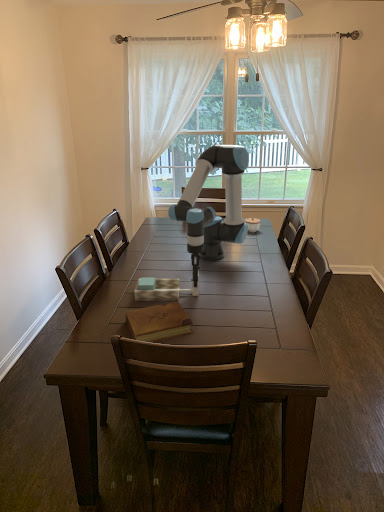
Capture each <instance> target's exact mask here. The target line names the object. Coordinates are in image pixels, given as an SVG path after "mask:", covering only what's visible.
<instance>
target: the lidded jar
mask: <svg viewBox="0 0 384 512" xmlns="http://www.w3.org/2000/svg"><path fill="white" fill-rule="evenodd" d="M244 224H247V225H248V233H255V232H257V231H259V228H260V227H261V219H260V218H255V217H249V218H245V219H244Z"/></svg>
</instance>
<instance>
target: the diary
mask: <svg viewBox="0 0 384 512" xmlns="http://www.w3.org/2000/svg"><path fill="white" fill-rule="evenodd" d="M124 315H125V322H126V325H127V328H128V329H129V331H130V334H131V336H132V339H133V340H134V339H135V340H140V341H148V342H153V343H156V342H155V341H157V342H160V341H164V340H169V339H173V338H178V337H181V336H182V335H183V336H186V334H187V335H190V334H189V333H191V334H194V332H193V331H192V329H191V327H192V325H193V324H194V322H193V320H192V319H191V318H190V317H189V314H188V313H187V312H186V310H185V309H184V308H183V306H182V305H181V304H180V302H179V300H178V301H171V302H166V303H161V304H157V305H152V306H147V307H142V308H138V309H137V308H136V309H132V310H128V311H125V313H124Z"/></svg>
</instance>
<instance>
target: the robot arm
mask: <svg viewBox="0 0 384 512" xmlns="http://www.w3.org/2000/svg"><path fill="white" fill-rule="evenodd" d="M249 158H250V157H249V152H248V150H247V148H246V147H245V146H243V145H237V144H235V145H234V144H213V145H211V146H209V147H207V148H206V149H205V150H203V152H201V154H200V155H199V156H198V158H197V160H196V162H195V168H194V170H193V172H192V174H191V176H190V178H189V180H188V182H187V184H186V186H185V188H184V189H183V192H182V193H181V196H180V197H179V199H178V201H177V203H175V204H171V205H170V206H169V208H168V211H167V216H168V217H169V219H170V220H171V221H176V222H183V223H186V236H185V239H186V242H187V244H186V251H187V252H188V254H190V255H191V256H190V259H191V260H190V261H191V266H192V272H193V279H192V278H191V279H190V281H191V283H192V284H191V285H193V293H198V272H199V270H200V269H201V268H200V260H201V259H203V260H206V261H217V260H222V258H224V257H225V249H224V247H223V244H222V242H225V243H230V244H237V245H238V244H239V245H241V244H243V243H244V242H245V240H246V238H247V236H248V233H249V231H248V225H247V224H245V219H244V217H242V215H243V213H242V211H243V210H242V209H243V208H242V205H243V203H242V200H243V199H242V197H243V195H242V192H243V191H242V189H243V188H242V187H243V186H242V185H243V184H242V181H243V179H242V177H243V174H245V170H248V167H249V161H250V160H249ZM216 168H217V169H221V174H222V175H224V182H225V183H224V185H225V188H224V189H225V218H223V217H222V216H218V215H217V212H216V210H215V209H214V208H213V207H211V206H205V207H202V208H201V207H194V205H195V203H196V201H197V199H198V198H199V196H200V193H201V191H202V189H203V187H204V184H205V182H206V181H207V178H208V177H209V175H210V174H211V173H212V172H213V171H214V169H216Z"/></svg>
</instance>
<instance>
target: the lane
mask: <svg viewBox="0 0 384 512" xmlns="http://www.w3.org/2000/svg"><path fill="white" fill-rule="evenodd" d="M140 279H141V278H137V282H136V286H135V288H134V301H136V302H137V301H139V302H141V301H142V302H143V301H146V302H151V301H152V302H154V301H155V302H156V301H157V302H158V301H159V302H160V301H161V302H164V301H166V302H167V301H168V302H170V301H171V302H176V301H178V302H179V298H180V297H179V296H180V291H178V290H139V288H138V285H139V282H140ZM155 282H156V288H155V289H181V288H180V284H181V283H180V278H155Z"/></svg>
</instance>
